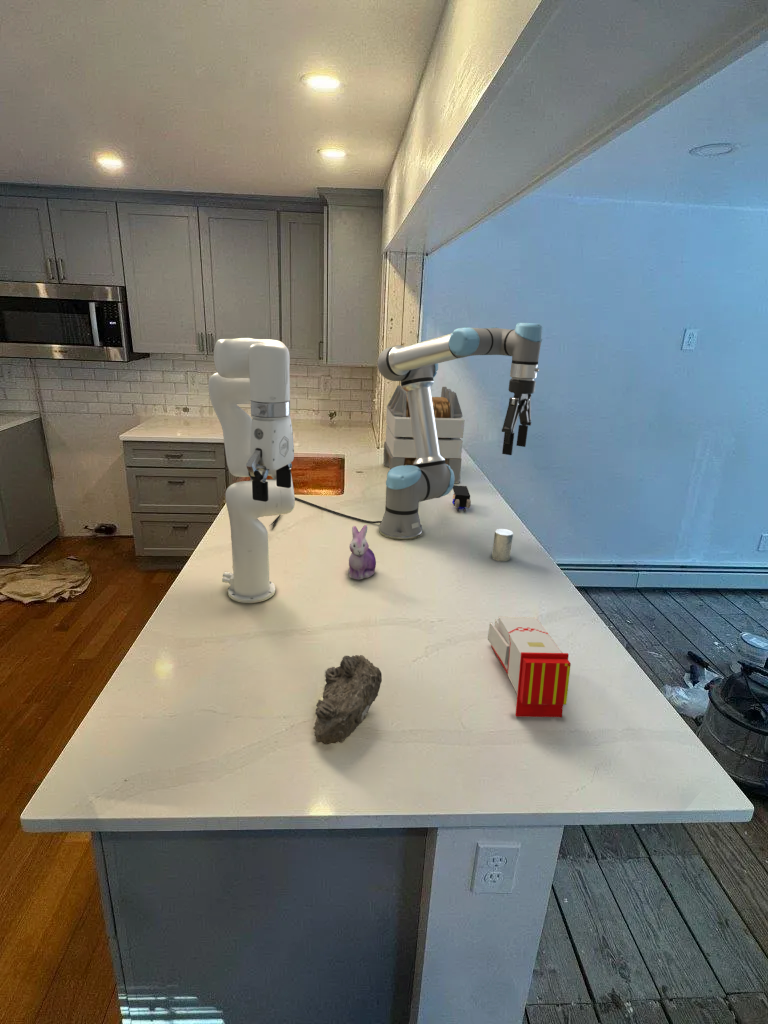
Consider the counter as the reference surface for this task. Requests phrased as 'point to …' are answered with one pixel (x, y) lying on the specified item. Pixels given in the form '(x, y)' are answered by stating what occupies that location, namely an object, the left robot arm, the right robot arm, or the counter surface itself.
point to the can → (502, 544)
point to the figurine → (361, 555)
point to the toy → (531, 665)
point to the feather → (275, 521)
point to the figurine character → (461, 497)
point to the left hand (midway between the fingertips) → (272, 493)
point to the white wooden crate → (401, 435)
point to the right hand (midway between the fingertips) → (514, 450)
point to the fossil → (346, 698)
